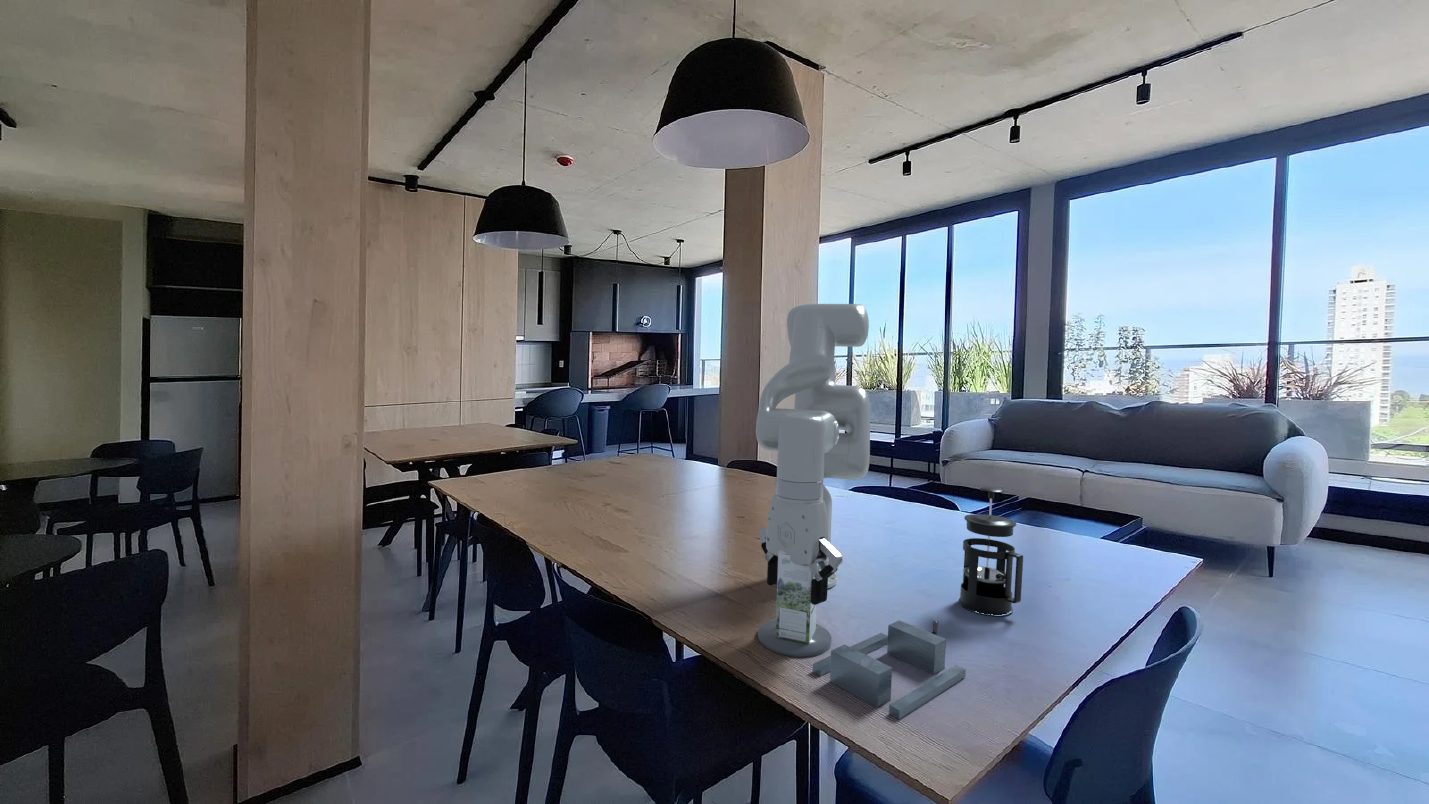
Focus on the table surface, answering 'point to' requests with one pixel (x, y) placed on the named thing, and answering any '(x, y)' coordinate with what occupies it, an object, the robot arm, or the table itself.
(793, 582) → the syrup box
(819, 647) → the coaster
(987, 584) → the french press
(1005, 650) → the table surface
